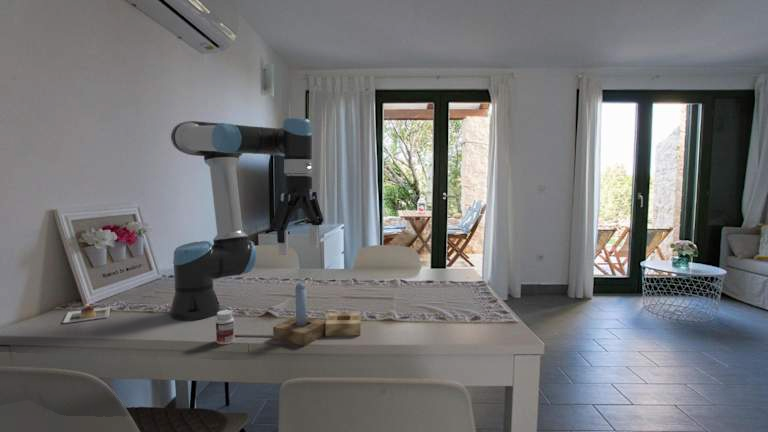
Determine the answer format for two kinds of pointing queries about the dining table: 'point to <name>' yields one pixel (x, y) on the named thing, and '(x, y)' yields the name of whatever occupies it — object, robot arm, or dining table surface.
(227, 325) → the pill bottle
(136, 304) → the dining table surface
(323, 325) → the square wooden ring
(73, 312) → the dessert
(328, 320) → the light wood square frame
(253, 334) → the thin wooden stick
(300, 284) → the blue-grey peg
